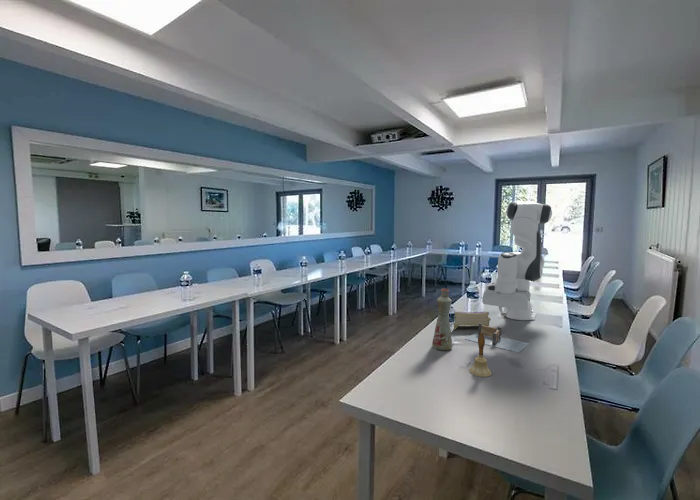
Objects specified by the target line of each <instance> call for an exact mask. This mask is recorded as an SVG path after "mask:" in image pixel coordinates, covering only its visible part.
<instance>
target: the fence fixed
mask: <svg viewBox="0 0 700 500" xmlns="http://www.w3.org/2000/svg"><path fill="white" fill-rule="evenodd" d="M477 326H478V327H477V328H478V329H477V332H478V334H480V332H482V333H483V334H484V335H487V336H491V337H493V333H495V332H496V331H497V330H499V339H501V337H502V336H501V335H502V326H497V327H492V326H489V327H488V326H484V325H482V324H481V323H479V325H477Z"/></svg>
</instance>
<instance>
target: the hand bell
mask: <svg viewBox="0 0 700 500" xmlns="http://www.w3.org/2000/svg"><path fill="white" fill-rule="evenodd" d="M485 345H486V344H485V338H484V334H483V333H482V332H480V334H479V337H478V342H477V346H478V356H477V357H474V361H473V364H472V366H471V367H470V368H469V370H468V371H469V373H470V374H471V375H473V376H476V377H478V378H479V377H480V378H488V377H491V376H492V371H491V370H490V369H489V366H488V359H487V358H485V356H484V348H485Z"/></svg>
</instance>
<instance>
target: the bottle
mask: <svg viewBox="0 0 700 500" xmlns="http://www.w3.org/2000/svg"><path fill="white" fill-rule="evenodd" d="M440 291H441V292H440V296H439V297H438V298H437V312H438V313H437V318H436V324H435V329H434V334H433V338H432V342H431V343H432V347H433V349H436V350H438V351H442V352H443V351H450V350H451V349H453V341H452V332H451V331H452V330H451V328H450V322H449V314H450V311H451V304H452V299H451V298H450V297H449V293H450V291H449V289H448V288H441V289H440Z"/></svg>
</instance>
